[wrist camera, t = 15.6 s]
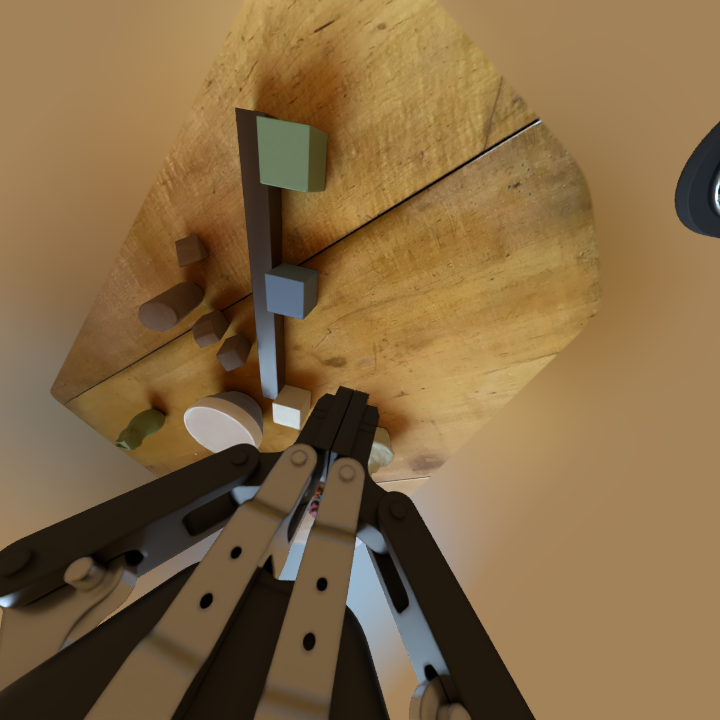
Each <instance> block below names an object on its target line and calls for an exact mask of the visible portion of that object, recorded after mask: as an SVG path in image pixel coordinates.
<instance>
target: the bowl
mask: <svg viewBox="0 0 720 720" xmlns="http://www.w3.org/2000/svg"><path fill="white" fill-rule="evenodd" d="M184 423H185V425H186V428H187V429H188V431H189V433H190V434H191V435H192V436H193V437H194V438H195V439H196V440H197V441H198V442H199V443H200V444H201V445H203V446H204V447H205V448H207V449H209V450H210V451H212V452H214V453H218V452H220V451H222V450H225V449H227V448H229V447H232V446H234V445H237V444H241V443H248V444H251V445H253V446H255V447H256V448H257V449H258V447H259V446H260V444H261V442H262V435H263V419H262V410H261V408H260V406H259V405H258V403H257V402H256V401H255V400H254V399H252V398H251V397H250V396H248V395H246V394H244V393H241V392H237V391H230V392H227V393H218V394H215V395H210V396H207V397H204V398H201V399H199V400H197V401H196V402H195V403H194V404H192V405H191V406H190V407H189V408H188V409H187V411H186V412H185V414H184Z"/></svg>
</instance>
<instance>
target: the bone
mask: <svg viewBox="0 0 720 720" xmlns="http://www.w3.org/2000/svg"><path fill="white" fill-rule="evenodd" d="M393 458H394V452H393V450H392V448H391V444H390V438H389V434H388V432H387V431H386V430H385V429H384V428H379V427H377V429H376V433H375V437H374V441H373V445H372V449H371V453H370V457H369V461H368V472H369V475H370V477H371V475H372V473H376V472H377V470H378V469H379V468H380V467H382V466H386V465H388V464H389V463H391V462H392V460H393ZM371 478H372V477H371Z"/></svg>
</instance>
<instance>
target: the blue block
mask: <svg viewBox="0 0 720 720" xmlns="http://www.w3.org/2000/svg"><path fill="white" fill-rule="evenodd" d="M318 273H319V271H317V270H313V269H308V268H304V267H300V266H295V265H291V264H286V263H283V264H281V265H279V266H277V267H275V268H274V269H272V270H270V271H268V272H266V273H265V282H266V298H267V311H270V312H274V313H278V314H282V315H286V316H290V317H294V318H298V319H302V320H303V319H304V318H305V317H306V316H307V315H308V314H309V313H310V312H311V311H312V310H313V308H314V307H315V306H316V305H317V290H318Z"/></svg>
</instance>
